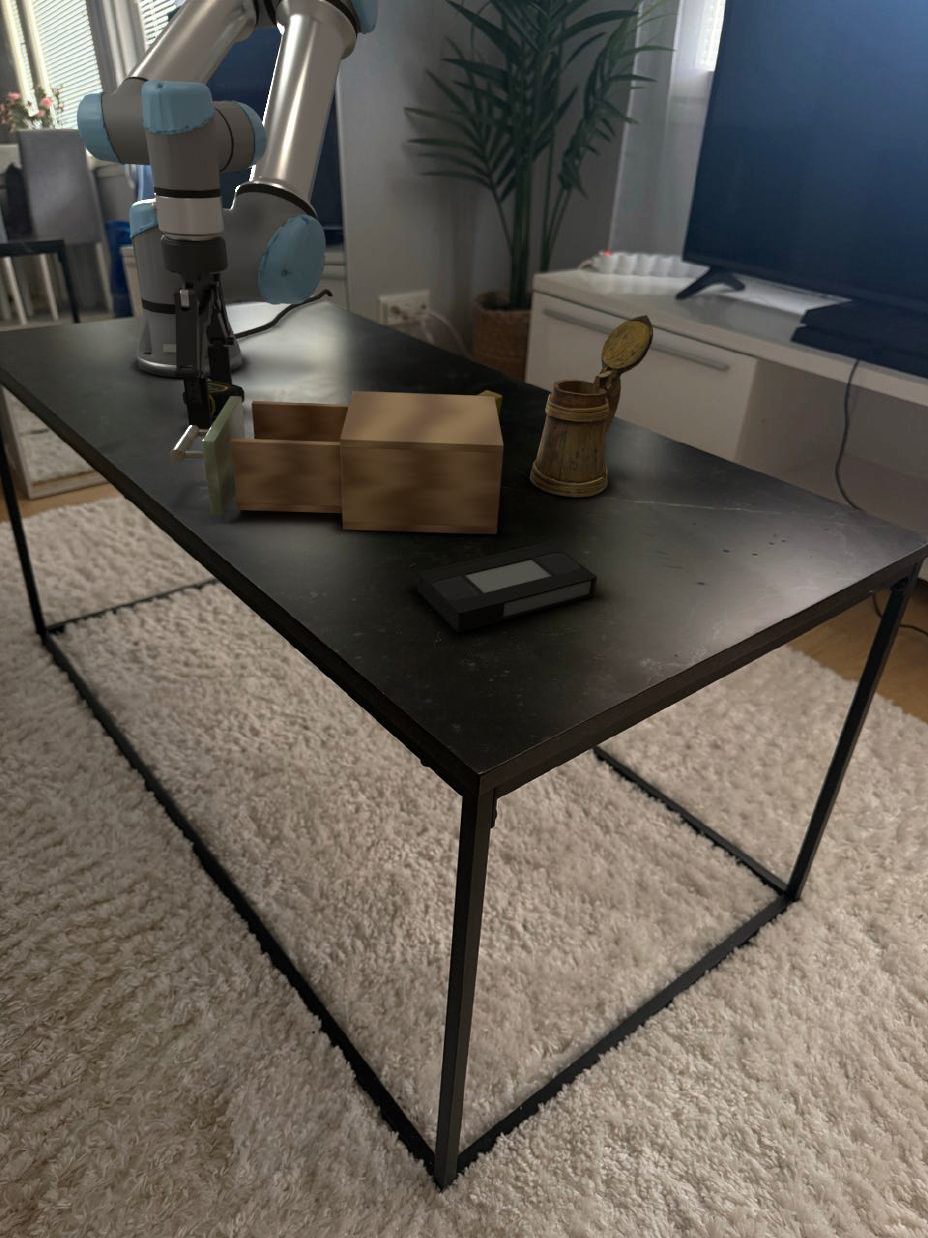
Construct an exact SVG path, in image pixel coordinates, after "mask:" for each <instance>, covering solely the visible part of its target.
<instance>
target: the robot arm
mask: <svg viewBox="0 0 928 1238" xmlns="http://www.w3.org/2000/svg"><path fill="white" fill-rule="evenodd" d="M378 2H379V1H378V0H184V2H183V3H182V4H181V5H180V7H179V8H178V9H177V11H176V12H175V14H174V15H173V16H172V18H171V19H170V20H169V21H168V22H167V24H165V26H164V28H163V29H162V30H161V31H160V33H159V34H158V35H157V36H156V38H155V39H154V40H153V42H152V43H151V44H150V46H149V47H148V48H147V49H146V50H145V51H144V53H143V54H142V56H141V57H140V59H139V60H138V61H137V62H136V63H135V64H134V66H133V67H132V69H131V70H130V71H129V73H127V75H126V76H125V77H124V78H123V80H122V82H121V83H120V84H119V85H118V86H117V88H116V89H115V90H114V92H112V93H107V92H105V91H99V92H94V93H93V92H92V93H87V94H85V95H84V96H83V97H82V98H81V99H80V101H79V103H78V106H77V111H76V124H77V125H76V126H77V131H78V135H79V136H80V139H81V140H82V144H83V146H84V148H85V149H86V150H87V152H88V153H89V154H90V155H91V156H92V157H94V158H95V159H97V160H99V161H104V162H110V163H116V164H120V165H121V166H126V165H134V166H135V165H136V166H149V167H150V171H151V172H150V173H151V179H152V184H153V185H152V187H153V193H154V198H150V199H144V200H140V201H137V202H135V203H133V204H132V205H131V206H130V208H129V213H128V218H129V233H130V234H129V239H130V240H131V244H132V252H133V257H134V263H135V269H136V270H135V271H136V275H137V282H138V288H139V295H140V300H141V308H142V317H141V321H140V322H141V323H140V327H139V335H138V340H137V347H136V353H135V354H136V360H137V366H138V368H139V369H140V370H142V371H144V372H146V373H148V374H151V375H154V376H160V377H169V378H182V381H183V389H184V391H185V396H186V404H187V406H186V411H187V418H188V427H189V426H190V425H195V426H197V427H198V428H199V429H204V430H209V429H210V428H211V426H212V425H213V418H212V417H211V408H210V399H209V391H208V382H207V381H208V377H210V381H217V382H224V383H229V384H233V377H232V371H234V370H236V369H238V368H239V367H240V366H241V365H242V363H243V359H242V358H243V357H242V350H241V347H240V345H239V342H238V340H239V339H243V338H246V337H249V336H253V335H256V334H259V333H263V332H265V331H267V330H270V329H271V328H274V327H275V326H276V325H277V324H278V323H279V322H280V321H281V319H282V318H283V317H285V316H286V315H287V314H288V313H290V312H291V311H292V310H295V309H296V308H299V307H302V306H304V305H307V304H310V303H313V302H316V301H318V300H321V298H323V297H324V296H325V295H327V297H330V298H331V297H334V295H333V293H332V292H331V290H330V289H328V288H325V289H322V290H321V291H319V292H318V293H316V294H315V295H313V294H314V293H315V292H316V290H317V288H318V286H319V285H320V282H321V279H322V277H323V273H324V270H325V264H326V255H325V251H326V248H327V242H326V235H325V231H324V229H323V227H322V224H321V223H320V221H319V220H318V214H317V211H316V209H315V208H314V206H313V205H312V204H311V200H312V195H313V190H314V186H315V182H316V177H317V173H318V169H319V163H320V159H321V154H322V149H323V145H324V140H325V136H326V131H327V126H328V121H329V117H330V112H331V107H332V104H333V99H334V95H335V89H336V85H337V81H338V76H339V72H340V66H341V62H342V61H343V60H346V59H347V58H349V57H350V56H351V55H352V54H353V52H354V50H355V48H356V44H357V40H358V35H359V34H362V35H367V34H370V33H372V32H373V31H374V30H375V29H376V26H377V22H378V14H379V13H378V11H379V4H378ZM262 29H278V30H279V32H280V34H281V40H280V45H279V49H278V54H277V58H276V62H275V67H274V71H273V74H272V75H273V76H272V80H271V85H270V89H269V94H268V97H267V103H266V107H265V111H264V115H263V120H262V119H261V117H260V116H259V114H258V113H257V112H256V111H255V110H254V108H252V107H251V106H249V105H247V104H245V103H243V102H239V101H236V100H227V99H224V100H221V101H219V100H217V101H216V100H213V97H212V92H211V90H210V88H209V87H208V86H207V85H206V84H207V83H208V81H209V80H210V79H211V78H212V76H213V75H214V74H215V72H216V71H217V69H218V67H219V66H220V65H221V63H222V62H223V61H224V59H225V57H226V56H227V55H228V54H229V53H230V50H231V49H232V48H233V46H234V45H235V44H236V43H241V42H243V41H245V40H247V39H248V38H249V37H250V36H251V35H252V34H253V32H254V31H256V30H262ZM251 168H252V169H251ZM247 169H248V170H249V169H251V172H250V173H251V174H250V177H249V180H248V181H245V182H242V183H240V185H238V186H237V187H236V189H235V192H234V197H233V201H232V205H231V208H223V207H224V206H223V198H222V197H223V196H222V191H221V182H220V174H225V173H226V174H227V173H233V172H236V173H243V172H244V171H246V170H247ZM225 299H234V300H241V301H242V300H243V301H251V302H258V303H266V304H269V305H281V304H283V305H287V306H286V307H284V308H283V309H282V310H281V311H280V312H278V313H277V314H276V316H275V317H274V318H273V319H272V320H271V321H269V322H266V323H265V324H263V325H259V326H256V327H254V328H251V329H247V330H243V331H239V332H236V333H235V332H234V329H233V328H232V325H231V322H230V320H229V315H228V312H227V307H226V306H227V305H226V301H225Z"/></svg>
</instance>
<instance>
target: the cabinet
mask: <svg viewBox="0 0 928 1238" xmlns="http://www.w3.org/2000/svg"><path fill="white" fill-rule="evenodd" d="M348 405H349V407H348V411H347V415H346V419H345V423H344V426H343V430H342V434H341V438H340V447H341V448H340V450H341V481H342V512H343V513H342V530H346V531H347V530H348V531H376V532H377V531H378V532H380V531H381V532H408V533H409V532H412V533H442V534H443V533H445V534H474V535H497V533H498V520H499V507H500V495H501V494H500V493H501V484H502V471H503V470H502V468H503V456H504V447H505V446H504V441H503V435H502V430H501V425H500V419H499V418H498V414H497V408H496V403H495V398H494V397H492V396H477V395H465V394H442V393H418V392H417V393H415V392H414V393H413V392H389V391H388V392H386V391H362V390H352V392H351V396H350V400H349V404H348Z"/></svg>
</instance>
